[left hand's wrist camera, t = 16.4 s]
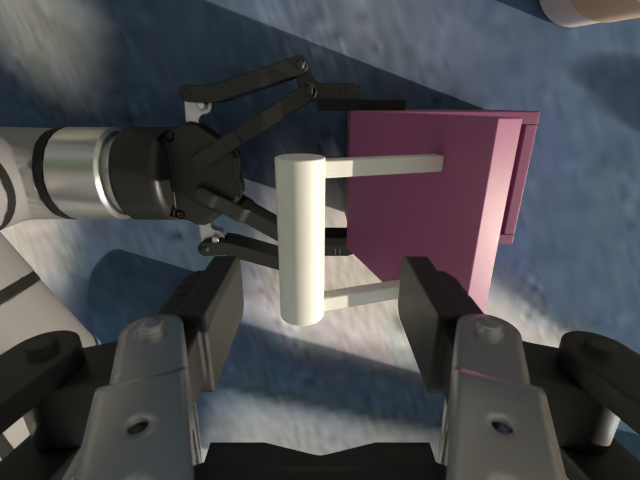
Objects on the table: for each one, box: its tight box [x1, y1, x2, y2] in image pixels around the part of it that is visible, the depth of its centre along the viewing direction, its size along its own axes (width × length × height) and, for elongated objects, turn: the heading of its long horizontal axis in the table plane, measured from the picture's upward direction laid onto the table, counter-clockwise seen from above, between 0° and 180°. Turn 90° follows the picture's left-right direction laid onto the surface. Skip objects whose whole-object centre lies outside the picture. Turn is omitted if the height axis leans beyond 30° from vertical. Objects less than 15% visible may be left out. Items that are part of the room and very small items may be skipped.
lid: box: [275, 111, 522, 326], centre depth 20 cm, size 14×10×9 cm
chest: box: [345, 109, 540, 244], centre depth 32 cm, size 13×10×9 cm
